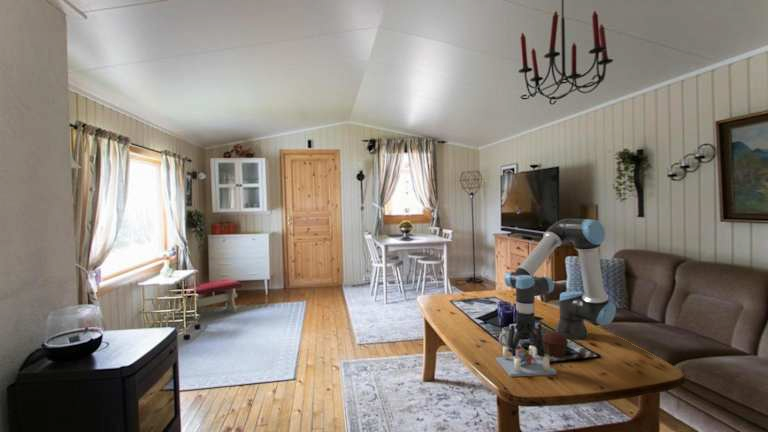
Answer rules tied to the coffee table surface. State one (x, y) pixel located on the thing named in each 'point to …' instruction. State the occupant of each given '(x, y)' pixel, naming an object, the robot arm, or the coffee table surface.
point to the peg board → (525, 365)
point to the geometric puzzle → (525, 355)
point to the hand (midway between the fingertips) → (525, 362)
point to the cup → (505, 337)
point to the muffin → (554, 344)
